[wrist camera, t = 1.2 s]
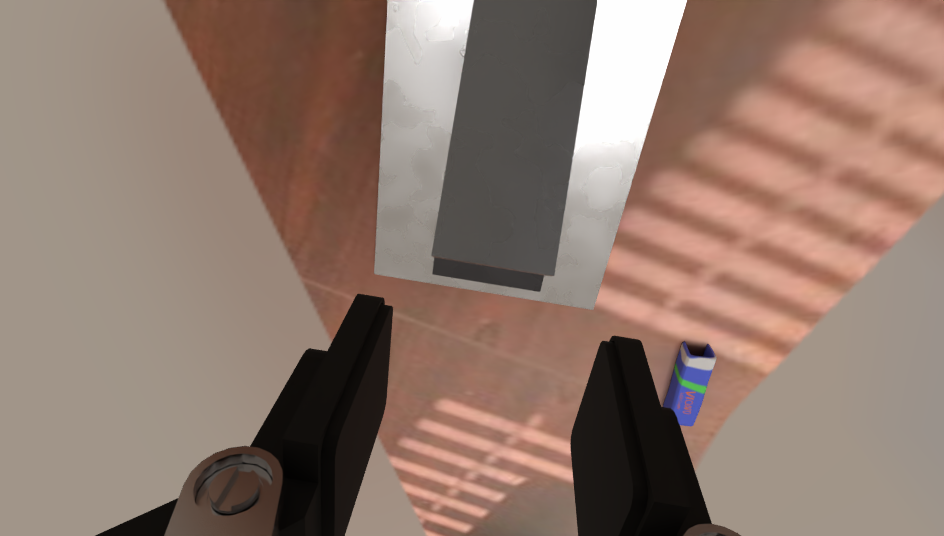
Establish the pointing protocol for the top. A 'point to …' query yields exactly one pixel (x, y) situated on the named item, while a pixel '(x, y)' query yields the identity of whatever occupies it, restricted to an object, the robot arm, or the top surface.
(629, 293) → the top surface
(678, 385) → the eraser
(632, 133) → the mounting plate
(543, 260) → the retention lever
